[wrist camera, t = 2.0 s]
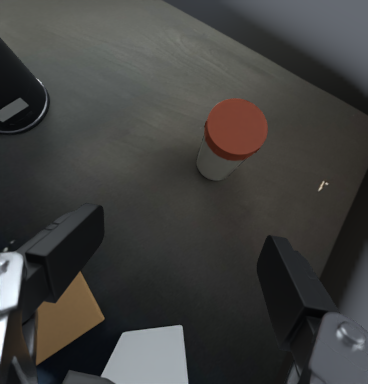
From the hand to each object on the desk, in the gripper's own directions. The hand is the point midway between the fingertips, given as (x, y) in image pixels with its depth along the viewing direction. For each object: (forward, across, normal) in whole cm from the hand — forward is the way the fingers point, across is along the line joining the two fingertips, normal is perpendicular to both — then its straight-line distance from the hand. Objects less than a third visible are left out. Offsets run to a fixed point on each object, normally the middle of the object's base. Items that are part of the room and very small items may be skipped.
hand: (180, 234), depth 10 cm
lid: (+13, -3, -4) cm, 14 cm away
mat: (+7, +15, +18) cm, 24 cm away
